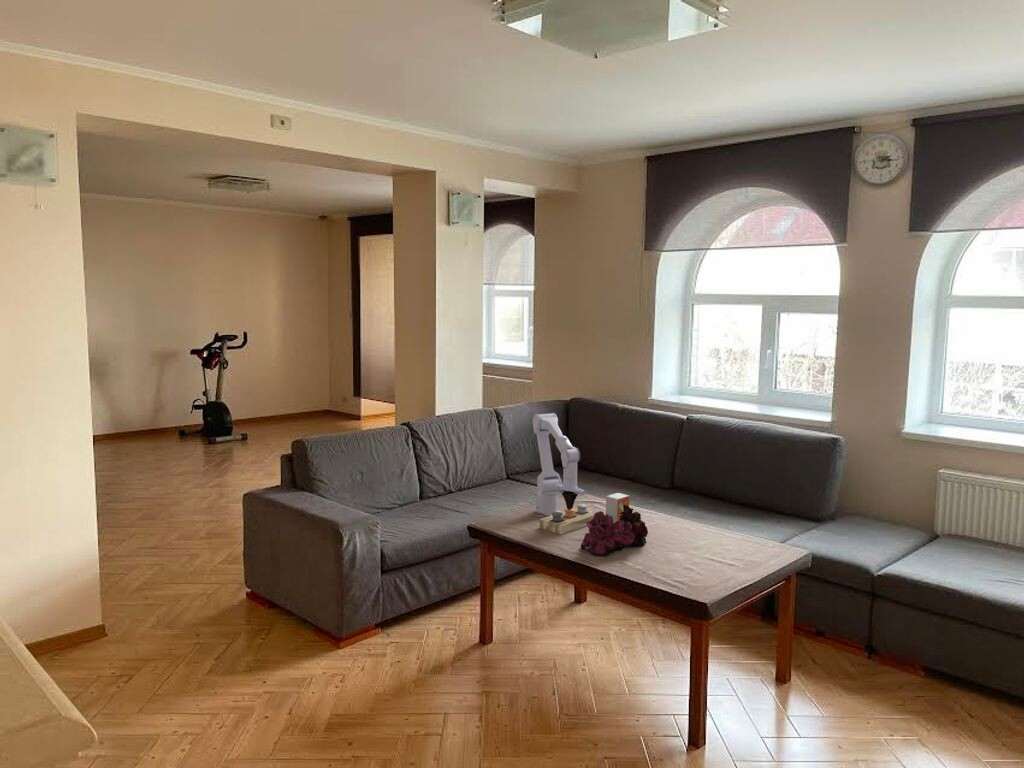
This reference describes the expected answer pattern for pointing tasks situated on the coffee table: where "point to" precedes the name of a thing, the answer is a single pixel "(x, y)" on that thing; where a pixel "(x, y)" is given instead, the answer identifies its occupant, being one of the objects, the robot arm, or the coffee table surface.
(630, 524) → the flower arrangement
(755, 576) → the coffee table surface
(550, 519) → the button board
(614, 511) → the small box
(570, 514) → the plunger terracotta
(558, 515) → the plunger charcoal
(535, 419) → the robot arm
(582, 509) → the knob
